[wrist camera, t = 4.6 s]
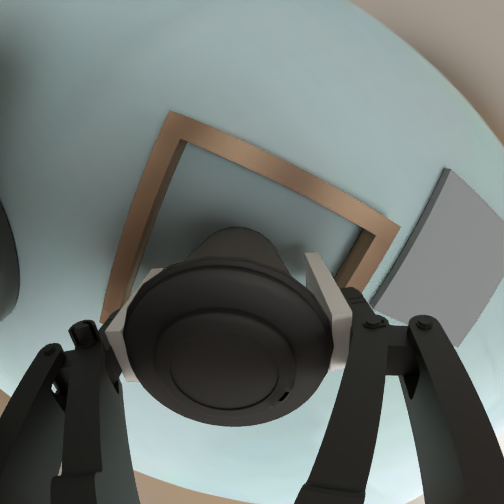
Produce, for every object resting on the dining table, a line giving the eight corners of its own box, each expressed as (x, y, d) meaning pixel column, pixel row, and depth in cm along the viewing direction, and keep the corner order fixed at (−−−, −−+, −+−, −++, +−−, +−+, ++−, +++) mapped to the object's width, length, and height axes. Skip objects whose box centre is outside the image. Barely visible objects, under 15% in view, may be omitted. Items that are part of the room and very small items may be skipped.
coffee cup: (303, 316, 20) (333, 433, 11) (188, 325, 20) (151, 439, 11) (297, 198, 17) (347, 256, 8) (164, 213, 18) (80, 280, 8)
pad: (369, 303, 20) (373, 309, 19) (444, 168, 16) (451, 169, 16) (453, 342, 21) (457, 347, 20) (515, 238, 18) (520, 241, 17)
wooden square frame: (110, 308, 20) (95, 326, 18) (178, 114, 16) (166, 108, 13) (283, 379, 22) (285, 402, 20) (387, 218, 18) (405, 229, 15)
